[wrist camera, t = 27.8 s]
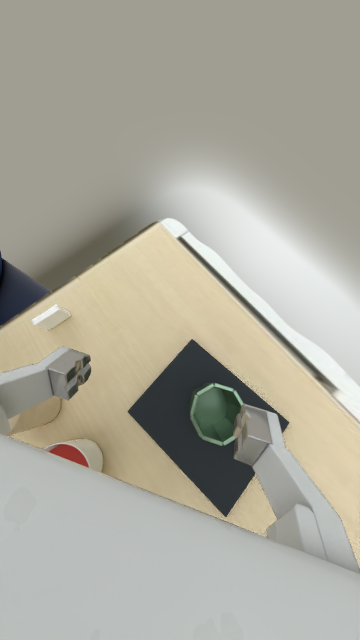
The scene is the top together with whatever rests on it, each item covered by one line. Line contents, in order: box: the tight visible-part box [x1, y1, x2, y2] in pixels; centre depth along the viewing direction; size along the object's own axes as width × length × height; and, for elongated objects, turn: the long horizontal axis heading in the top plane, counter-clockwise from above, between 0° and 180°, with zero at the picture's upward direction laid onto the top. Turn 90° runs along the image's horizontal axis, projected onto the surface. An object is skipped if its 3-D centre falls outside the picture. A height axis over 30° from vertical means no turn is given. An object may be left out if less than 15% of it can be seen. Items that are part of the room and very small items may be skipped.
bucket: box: [189, 383, 244, 446], centre depth 27 cm, size 10×6×6 cm
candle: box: [6, 396, 61, 436], centre depth 28 cm, size 6×6×10 cm
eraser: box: [32, 304, 71, 331], centre depth 35 cm, size 1×5×4 cm, turn 127°
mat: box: [128, 339, 289, 517], centre depth 31 cm, size 20×16×1 cm
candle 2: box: [42, 439, 103, 472], centre depth 27 cm, size 9×9×6 cm
